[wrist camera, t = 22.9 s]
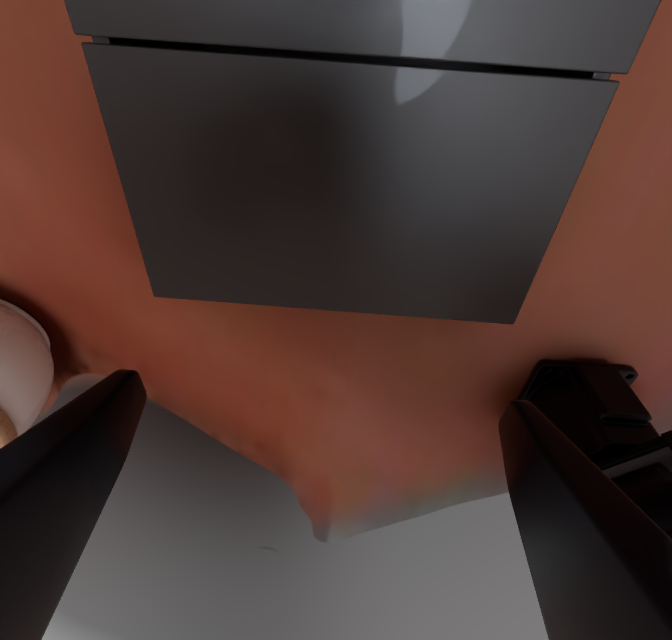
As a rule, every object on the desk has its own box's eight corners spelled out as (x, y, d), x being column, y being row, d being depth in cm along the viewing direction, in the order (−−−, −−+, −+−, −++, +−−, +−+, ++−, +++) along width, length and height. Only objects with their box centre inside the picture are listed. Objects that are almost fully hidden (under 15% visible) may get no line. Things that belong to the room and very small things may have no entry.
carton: (464, 226, 20) (514, 326, 13) (220, 208, 20) (152, 298, 13) (610, -276, 10) (1009, -748, 4) (146, -307, 10) (-189, -817, 4)
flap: (510, 318, 14) (513, 324, 13) (157, 291, 14) (153, 297, 13) (613, 79, 9) (621, 81, 9) (88, 42, 9) (79, 41, 9)
